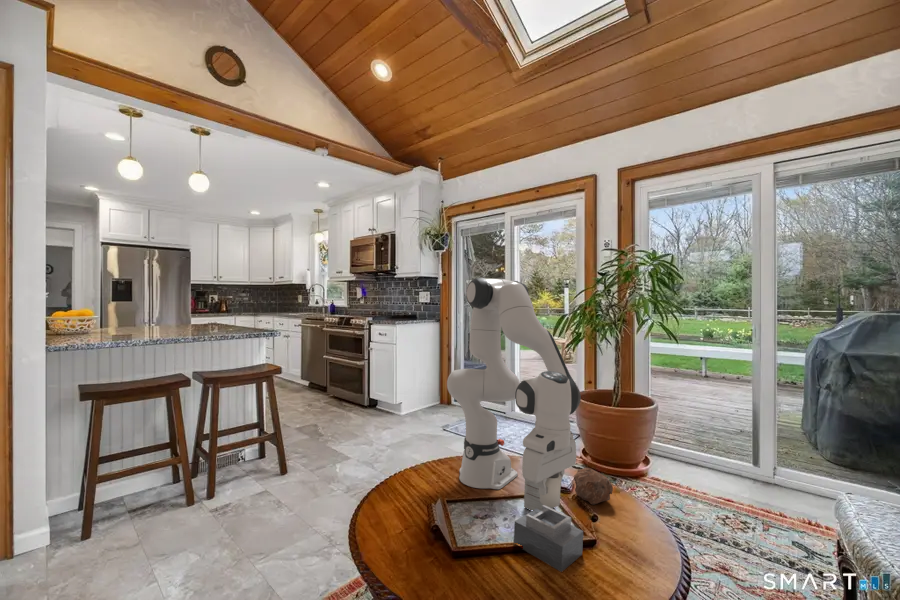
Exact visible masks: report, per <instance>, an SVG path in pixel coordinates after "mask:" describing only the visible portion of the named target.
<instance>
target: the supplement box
mask: <svg viewBox="0 0 900 600" xmlns="http://www.w3.org/2000/svg"><path fill="white" fill-rule="evenodd" d="M523 493H524V496H523V508H524V507H525V508H528V509H530V510H535V509H538V510H541V511H542V506H543V504H542V503H541V502H540V493H539V486H538V484H533V483H531V482H529V481H526V480H525V479H524V492H523ZM547 507H548V506H547ZM525 508H524V509H525ZM550 508H552V509H553V508H554V507H550ZM554 509H555V508H554Z"/></svg>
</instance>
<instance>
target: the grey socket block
mask: <svg viewBox="0 0 900 600" xmlns="http://www.w3.org/2000/svg"><path fill="white" fill-rule="evenodd" d="M513 529H514V530H513V544H514V543H518V544H520V545H522V546H523V549H522V550H523V551H524V552H527V554H530V555H532V556H534V557H535V558H537V559H538V560H540V561H541V562H543V563H545V564H547V565H549V566H550V567H552V568H554V569H556V570H557V571H559V572H560V573H563V571H565V570H566V569H567V568H568V567H570V566H571V565H572V564H574V562H575V561H576V560H578V559H579V558H580V557H582V556H583V548H584V547H583V545H584V544H583V542H584V530H582V529H580V528H579V527H578V528H577V527H576V526H574V525H572V517H571V516H568V515H567V514H565V513H562V512H560V511H558V510H556V509H555V508H554V509H552V508H550V507H547V506H545V505H543V506H542V511H541V510H538V509H535V510H533V511H529V512H528V513H526V514H524V515H523V516H521V517H520V518H518V519H516V520H514V526H513Z"/></svg>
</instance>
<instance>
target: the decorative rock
mask: <svg viewBox="0 0 900 600" xmlns="http://www.w3.org/2000/svg"><path fill="white" fill-rule="evenodd" d="M573 481H574V483H575V489H574V492H575V494H576V495H577V496H578V497H580V498H581V499H582V500H584V501H587V502H588V503H590V505H598V504H599V503H602V502H609V501H610V499H611V495H612V494H613V490H614V488H613V487H614V486H613V484H612V483H611V482H612V481H610V480H609V479H608V477H607V476H606V475H604V474H602V473H600V472H598V471H597V470H595V469H593V468H590V467H584V468H582V469H577V472H576V473H575V474H574V476H573Z"/></svg>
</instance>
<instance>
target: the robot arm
mask: <svg viewBox="0 0 900 600" xmlns="http://www.w3.org/2000/svg"><path fill="white" fill-rule="evenodd" d="M465 296H466V301H467V303H468V304H469V306H471V307H473V308H472V312H471V318H470V326H469V327H470V328H469V330H470V331H469V352H470V354H471V355H472V356H473V357H475V358H476V359H478V360H480V361H481V362H483V363H484V364H485V365H486V368H483V369H479V368H478V369H477V368H461V369H460V368H459V369H454V370H452V371H451V372H450V374H449V375H448V377H447V381H446V388H447V391H448V393H449V395H450V396H451V398H453V399H454V400H456V401H457V403H458V404H459V405H460V407H461V409H462V411H463V415H464V419H465V437H464V439H463V452H462V459H461V460H462V461H461V465H460V466H461V467H460V468H459V481H460V482H461V483H462V484H463V485H466V486H468V487H471V488H476V489H492V490H501V489H502V488H504V487H505V486H506V485H507V484H509V483H510V482H512V481H513V480H514V479H515V478H517V477H518V476H519V474H518V472H517V470H515V469H514V468H512V461H511V458H510V457H509V456H508V455H507V453H505V452H504V451H502V450H501V449H500V446H502V447H503V446H504V445H505V440H504V439H501V438H498V419H497V416H496V415H495V414H494V413H492V412H491V411H490V410H488V409H487V408H484V407H483V406H482V405H481V402H493V403H494V402H497V403H504V402H511V401H515V404H516V407H517V408H518V409H519V410H520V411H521V412H522V413H523V414H524V415H525V414H526V415H533V416H535V423H534V427H533V428H532V430H531V431H530V432H529V433H528V434H527V435H526V436H525V437H524V438H523V440H522V446H523V447H524V450H523V454H522V464H521V465H522V466H521V468H522V469H521V470H522V472H521V473H522V474H521V475H522V477H523V479H524V481H525V480H526V481H529V482H531V483H533V484H538V486H539V493H540V494H541V495H546V494H547V493H548V487H546V485H545V482H546V479H547V478H549V477H551V476H553V475H555V474H557V473H559V474H560V475H561V481H562V480H563V478H564V476H565V470H567V469H568V468H571V467H572V466H574V465H576V461H577V443H576V440H575V438H574V433H573V432H572V430H571V423H570V416H571V415H572V414H573V413H575V411H577V409H578V408H579V406H580V403H581V401H582V398H581V392H580V389H579V386H578V385H577V383H576V381H574V378H572V376H571V374H570V372H569V370H568V367H567V364H566V362H565V360H564V358H563V357H562V354H561V352H560V349H559V347H558V345H557V343H556V341H555V339H554V337H553V335H552V333H551V332H550V331H549V330H548V329H546V328H545V327H544V326H543V324H542V323H541V322H540V320H539V319H538V317H537V315H536V312H535V310H534V309H535V308H534V305H533V303H532V302H533V301H532V300H531V299H532V298H531V297H530V292H529V289H528V287H527V285H526V284H525V283H523V282H521V281H518V280H509V279H506V278H485V277H476V278H473V279H471V281H469V282H468V285H467V288H466V295H465ZM502 332H503V335H504V336H505V337H506V338H507V339H508V340H509V341H511V342H512V343H514V344H516V345H520V346H522V347H526V348H528V349H530V350H532V351H533V352H535V353H537V354H538V355H539V356H540V357H541V359H542V361H543V363H544V365H545V368H546V370H547V371H542V372H540V373H539V374H538V376H537V377H535V378H530V379H525V380H524V379H523V380H521V381H520V379H519V377H518V376H517V375H516V374H515V373H514V372H513V371H512V370H511V369H510V368H509V366H507V364H506V362H505V361H504V358H503V354H502V347H501V345H502V344H501V343H502V340H501V335H502V334H501V333H502Z"/></svg>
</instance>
